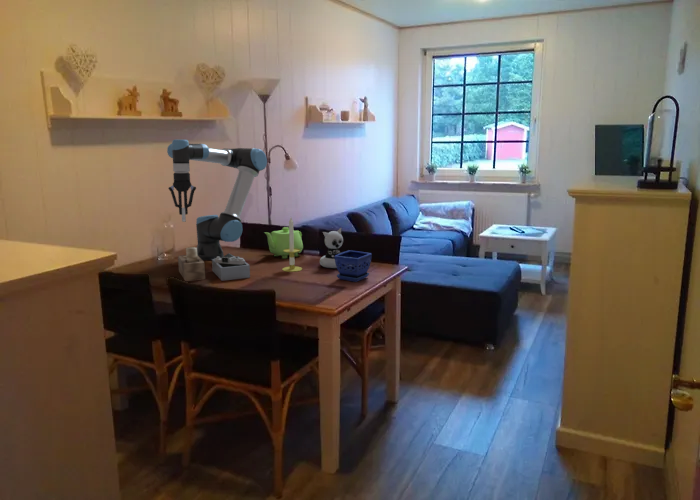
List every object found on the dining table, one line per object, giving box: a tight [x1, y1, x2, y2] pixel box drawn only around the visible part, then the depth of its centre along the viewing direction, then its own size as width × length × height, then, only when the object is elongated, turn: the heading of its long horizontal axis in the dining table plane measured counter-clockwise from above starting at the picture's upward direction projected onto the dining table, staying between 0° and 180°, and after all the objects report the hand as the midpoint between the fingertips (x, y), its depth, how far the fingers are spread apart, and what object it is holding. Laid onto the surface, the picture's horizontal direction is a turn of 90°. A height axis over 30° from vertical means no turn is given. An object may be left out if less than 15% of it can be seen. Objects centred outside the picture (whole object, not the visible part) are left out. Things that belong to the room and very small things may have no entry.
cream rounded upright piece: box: [185, 246, 198, 263], centre depth 261 cm, size 5×5×8 cm
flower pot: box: [334, 249, 373, 283], centre depth 260 cm, size 13×13×12 cm
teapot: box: [263, 226, 304, 260], centre depth 308 cm, size 25×22×16 cm
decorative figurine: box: [319, 227, 344, 269], centre depth 283 cm, size 15×15×20 cm
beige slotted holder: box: [177, 254, 206, 282], centre depth 266 cm, size 9×20×8 cm, turn 25°
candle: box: [281, 217, 303, 273], centre depth 275 cm, size 10×10×27 cm
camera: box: [215, 252, 246, 267], centre depth 269 cm, size 16×9×10 cm, turn 74°
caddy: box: [211, 256, 251, 281], centre depth 268 cm, size 14×20×6 cm, turn 25°
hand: (183, 221), depth 270 cm, fingers closed
